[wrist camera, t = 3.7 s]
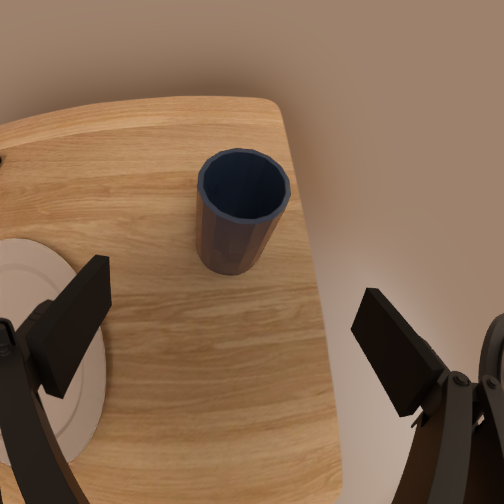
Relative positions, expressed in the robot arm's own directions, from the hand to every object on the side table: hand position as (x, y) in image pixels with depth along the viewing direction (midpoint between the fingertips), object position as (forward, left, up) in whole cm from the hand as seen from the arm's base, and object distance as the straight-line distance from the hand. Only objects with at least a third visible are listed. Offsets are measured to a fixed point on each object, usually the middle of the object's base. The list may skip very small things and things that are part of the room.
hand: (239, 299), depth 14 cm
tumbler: (+9, -1, -14) cm, 17 cm away
